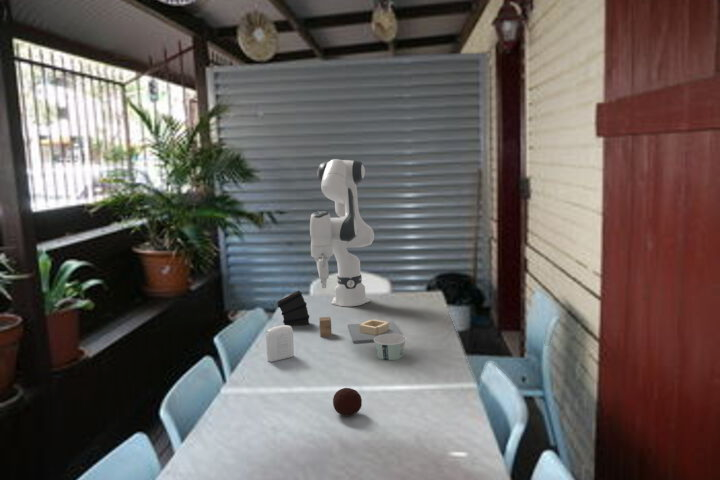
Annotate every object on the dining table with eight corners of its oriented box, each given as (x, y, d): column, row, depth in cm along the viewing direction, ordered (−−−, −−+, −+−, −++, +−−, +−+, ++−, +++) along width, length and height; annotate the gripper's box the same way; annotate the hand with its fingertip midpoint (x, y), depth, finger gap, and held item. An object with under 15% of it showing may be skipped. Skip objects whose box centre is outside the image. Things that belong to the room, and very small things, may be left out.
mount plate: (347, 326, 252) (347, 317, 251) (393, 323, 254) (393, 314, 254) (353, 343, 230) (352, 333, 230) (403, 339, 233) (402, 329, 232)
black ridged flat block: (315, 321, 257) (299, 291, 254) (289, 334, 257) (272, 305, 255) (316, 318, 260) (299, 289, 258) (290, 332, 261) (273, 303, 258)
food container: (404, 362, 208) (404, 344, 207) (371, 361, 210) (370, 343, 209) (408, 350, 220) (408, 334, 219) (377, 349, 222) (376, 333, 221)
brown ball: (344, 405, 175) (343, 380, 173) (369, 413, 169) (368, 387, 168) (326, 415, 168) (325, 389, 167) (350, 423, 163) (349, 397, 161)
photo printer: (290, 353, 221) (288, 322, 219) (296, 356, 218) (294, 324, 216) (265, 359, 216) (263, 327, 214) (270, 363, 212) (268, 330, 210)
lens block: (320, 333, 244) (319, 317, 243) (330, 333, 245) (330, 316, 243) (320, 337, 240) (319, 320, 239) (331, 336, 240) (330, 319, 239)
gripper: (331, 255, 227) (333, 290, 229) (328, 247, 247) (329, 279, 249) (315, 256, 226) (316, 291, 228) (313, 248, 246) (314, 280, 248)
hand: (323, 285), depth 239 cm, fingers open, 8 cm apart
